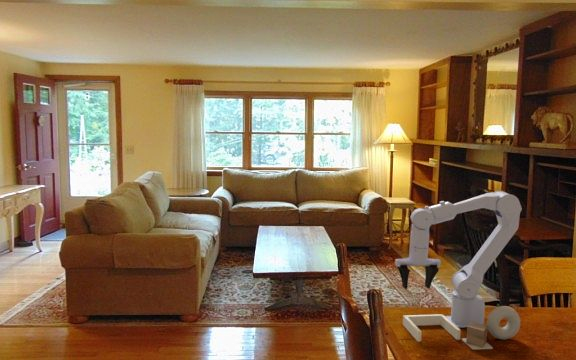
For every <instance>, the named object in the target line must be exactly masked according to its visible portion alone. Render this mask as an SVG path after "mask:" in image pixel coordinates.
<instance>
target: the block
mask: <svg viewBox="0 0 576 360" xmlns="http://www.w3.org/2000/svg"><path fill="white" fill-rule="evenodd" d="M487 337H488V325H487V324H485V323H484V324H480V323H476V322H472V321H471V322H470V324H469V325H468V326H467V327H466V337H465V338H466V343H467V344H471V345H474V346H478V347H481V348H483V347H484V345H485V344H486V342H487ZM466 343H465V344H466ZM487 343H488V342H487ZM467 344H466V345H467Z"/></svg>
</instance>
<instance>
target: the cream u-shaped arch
mask: <svg viewBox="0 0 576 360" xmlns="http://www.w3.org/2000/svg"><path fill="white" fill-rule="evenodd" d="M445 316H446V315H444V314H442V313H441V314H439V313H435V314H413V315H412V314H407V315H402V325H403V327H404V328H405V329H406V330H407V331H408V333H410V334H411V336H412V337H413V338H414V339H415V341H417V342H418V343H419V342H422V330H421V329H420V328H419V327H418V326H441V327H442V328H443V329H444V330H445V331H446V332H448V334H450V335H451V336H452V337H453V338H454V339H455V340H456V341H461V333H462V330H461V328H458V327H457V326H455V325H454V324H453V323H452V322H451V321H450V320H448V319H447V318H446V317H445Z"/></svg>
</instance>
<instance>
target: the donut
mask: <svg viewBox="0 0 576 360" xmlns="http://www.w3.org/2000/svg"><path fill="white" fill-rule="evenodd" d="M505 318H506V319H507V323H506V325H504V326H503V327H501V326H500V322H501V320H503V319H505ZM486 325H488V329H487V331H488V332H489V334H491V335H492V337H494V338H496V339H498V340H502V341H503V340H509V339H511V338H513V337H514V336H516V334H517V333H518V332H519V330H520V328H521V327H520V326H521V317H520V316H519V313H518V312H517V311H516V309H514V308H512V307H511V306H507V305H501V306H497V307H495V308H493V309H492V310H491V311H490V312H489V314H488V316H487V319H486Z"/></svg>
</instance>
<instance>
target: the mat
mask: <svg viewBox="0 0 576 360" xmlns="http://www.w3.org/2000/svg"><path fill="white" fill-rule="evenodd" d="M461 340H462V342H464V344H466V345H467V346H468V347H469V348H470V349H472V350H493V349H494V347H493V346H492V345H490V344H489V343H488V342H486V344H485V345H484V347H483V348H481V347H478V346H474V345H471V344H467V343H466V337H465V338H461Z"/></svg>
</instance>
